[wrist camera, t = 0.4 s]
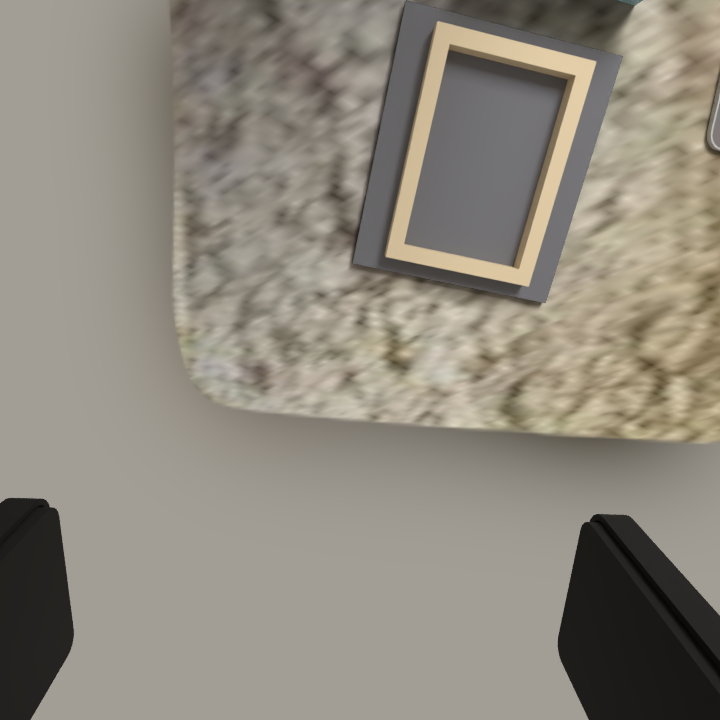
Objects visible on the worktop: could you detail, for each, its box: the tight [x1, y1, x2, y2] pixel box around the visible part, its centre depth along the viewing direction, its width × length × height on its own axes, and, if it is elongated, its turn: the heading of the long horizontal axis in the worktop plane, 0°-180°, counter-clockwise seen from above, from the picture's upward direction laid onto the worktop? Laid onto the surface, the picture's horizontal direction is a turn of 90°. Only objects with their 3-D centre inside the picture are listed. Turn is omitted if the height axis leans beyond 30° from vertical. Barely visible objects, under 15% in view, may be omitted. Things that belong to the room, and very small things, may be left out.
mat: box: [353, 0, 623, 303], centre depth 35 cm, size 16×14×2 cm
